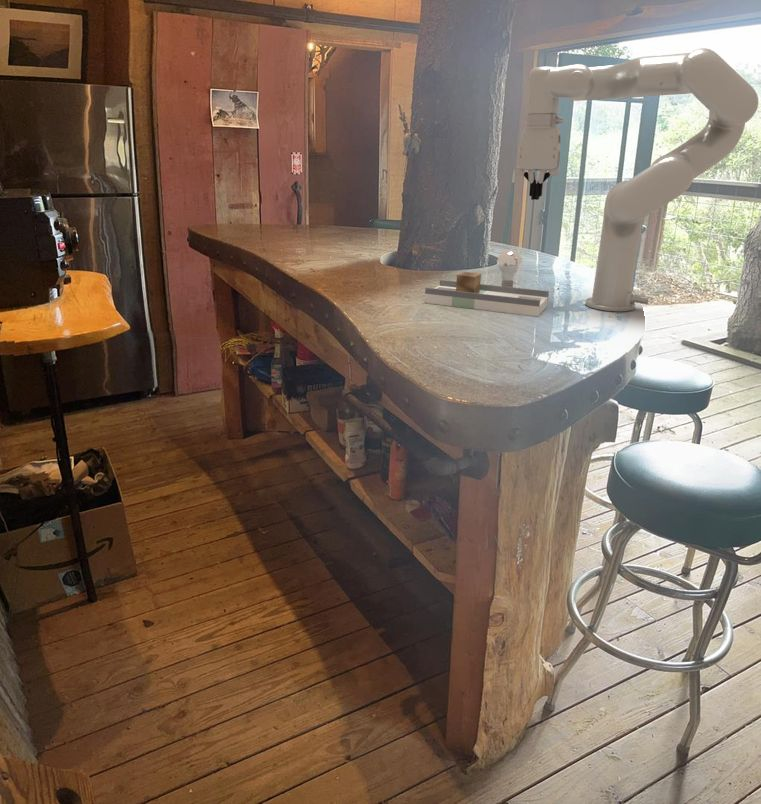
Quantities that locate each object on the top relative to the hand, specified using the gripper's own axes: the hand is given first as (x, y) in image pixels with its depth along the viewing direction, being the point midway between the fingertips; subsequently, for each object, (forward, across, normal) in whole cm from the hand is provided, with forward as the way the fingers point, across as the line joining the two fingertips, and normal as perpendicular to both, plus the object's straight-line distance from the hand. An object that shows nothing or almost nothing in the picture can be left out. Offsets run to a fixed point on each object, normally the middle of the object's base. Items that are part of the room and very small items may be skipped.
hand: (535, 199), depth 169 cm
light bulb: (+26, +7, -8) cm, 29 cm away
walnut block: (+24, +14, +11) cm, 29 cm away
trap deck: (+26, +9, +11) cm, 30 cm away
